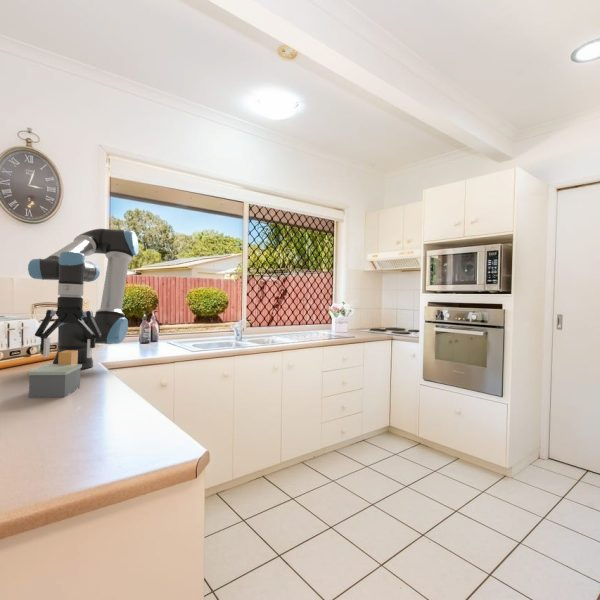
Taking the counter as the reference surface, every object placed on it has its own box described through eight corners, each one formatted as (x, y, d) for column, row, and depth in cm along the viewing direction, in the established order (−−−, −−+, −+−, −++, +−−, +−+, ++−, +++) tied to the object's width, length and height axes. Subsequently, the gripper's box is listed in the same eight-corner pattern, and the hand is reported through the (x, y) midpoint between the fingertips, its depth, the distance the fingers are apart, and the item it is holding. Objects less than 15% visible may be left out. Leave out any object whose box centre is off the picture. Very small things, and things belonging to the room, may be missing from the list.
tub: (47, 387, 124) (48, 367, 124) (79, 387, 126) (80, 367, 126) (28, 397, 113) (29, 374, 113) (64, 397, 115) (65, 374, 115)
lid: (54, 367, 130) (55, 350, 130) (87, 367, 132) (88, 350, 132) (27, 378, 112) (28, 358, 112) (66, 378, 114) (66, 358, 114)
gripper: (24, 294, 122) (21, 358, 122) (105, 297, 127) (103, 359, 127) (36, 295, 129) (33, 355, 129) (112, 297, 134) (110, 356, 134)
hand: (68, 357), depth 128 cm, fingers open, 13 cm apart
